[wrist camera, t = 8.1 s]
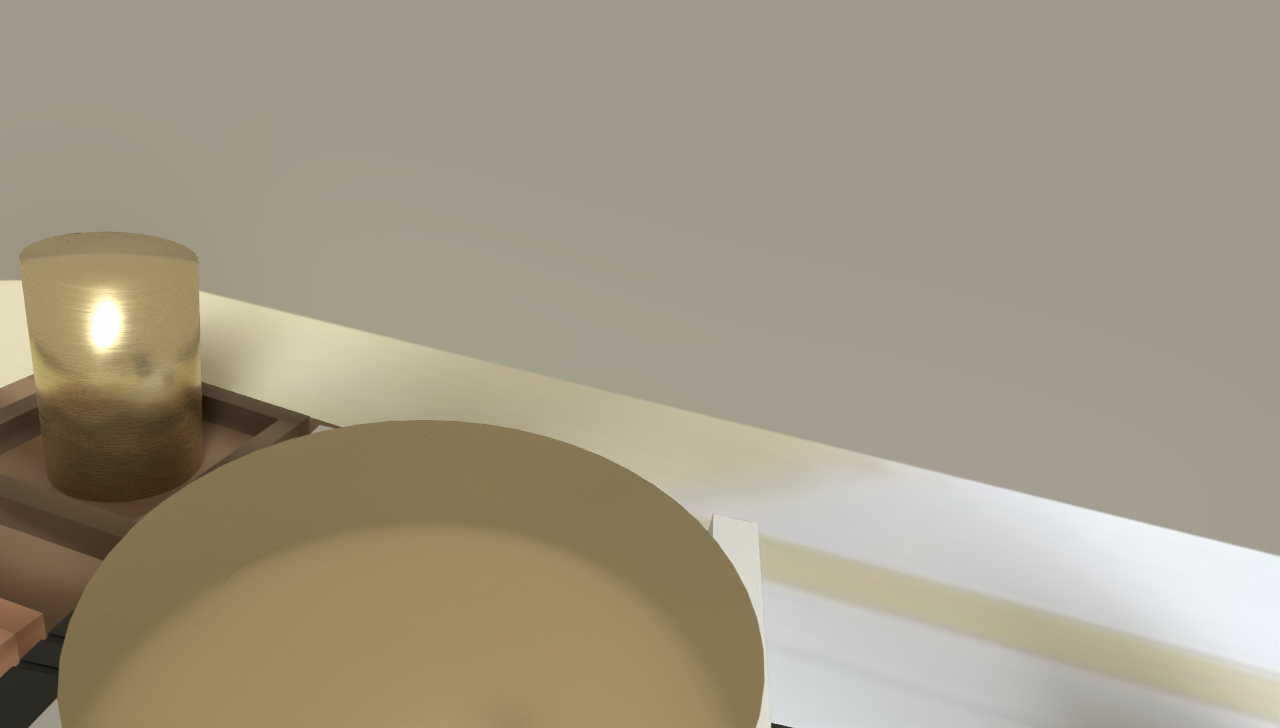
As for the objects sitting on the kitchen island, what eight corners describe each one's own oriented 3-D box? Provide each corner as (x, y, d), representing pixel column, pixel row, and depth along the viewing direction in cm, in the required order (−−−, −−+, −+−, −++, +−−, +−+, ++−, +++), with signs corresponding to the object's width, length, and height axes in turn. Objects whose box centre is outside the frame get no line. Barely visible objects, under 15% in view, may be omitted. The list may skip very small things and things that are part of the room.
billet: (210, 427, 40) (206, 239, 35) (193, 500, 35) (186, 292, 30) (67, 426, 37) (45, 225, 33) (27, 504, 32) (-5, 279, 28)
